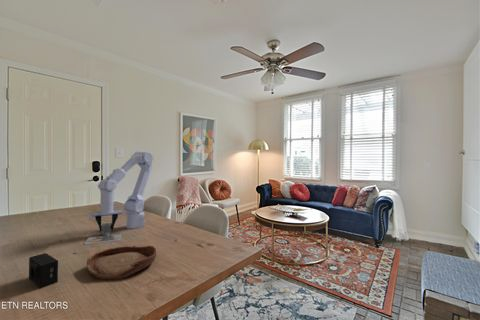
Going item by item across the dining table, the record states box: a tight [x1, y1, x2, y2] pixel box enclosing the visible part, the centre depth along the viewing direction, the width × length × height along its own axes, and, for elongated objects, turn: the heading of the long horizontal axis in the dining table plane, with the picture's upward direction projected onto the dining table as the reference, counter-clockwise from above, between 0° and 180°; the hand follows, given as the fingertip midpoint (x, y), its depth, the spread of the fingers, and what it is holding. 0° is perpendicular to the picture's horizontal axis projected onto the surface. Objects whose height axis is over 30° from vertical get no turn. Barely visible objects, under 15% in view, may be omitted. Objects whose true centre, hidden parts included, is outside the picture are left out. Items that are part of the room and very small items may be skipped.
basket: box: [86, 245, 157, 281], centre depth 81 cm, size 22×20×5 cm
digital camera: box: [28, 252, 59, 289], centre depth 70 cm, size 10×5×7 cm, turn 58°
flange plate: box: [84, 233, 123, 245], centre depth 104 cm, size 14×8×2 cm, turn 114°
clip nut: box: [100, 222, 112, 236], centre depth 111 cm, size 4×4×5 cm
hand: (106, 230), depth 111 cm, fingers closed on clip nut, 4 cm apart
